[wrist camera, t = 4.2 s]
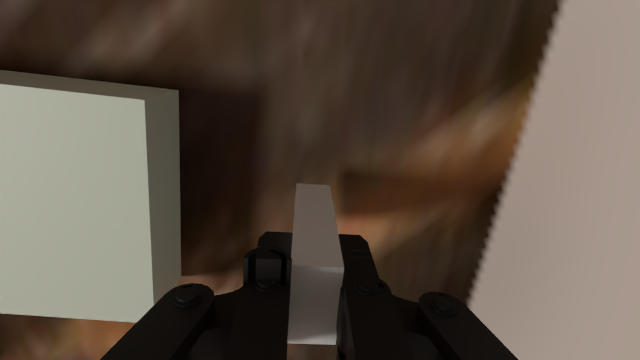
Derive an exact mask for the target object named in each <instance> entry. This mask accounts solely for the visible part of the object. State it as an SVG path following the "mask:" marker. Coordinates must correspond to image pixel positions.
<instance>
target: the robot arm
mask: <svg viewBox="0 0 640 360" xmlns="http://www.w3.org/2000/svg"><path fill="white" fill-rule="evenodd" d="M336 335H337V341H338V348H337V357H336V360H518V359H517V358H516V357H515V356H514V355H513V354H512V353H511V352H510V351H509V350H508V349H507V348H506V347H505V346H504V345H503V343H502V342H501V341H500V340H499V339H498V338H497V337H496V336H495V335H494V334H493V333H492V332H491V331H490V330H489V329H488V328H487V327H486V326H485V325H484V324H483V323H482V322H481V321H480V320H479V319H478V318H477V317H476V316H475V315H474V313H473V312H472V311H471V310H470V309H469V308H468V307H467V306H466V305H465V304H464V303H462V302H461V301H460V300H459V299H457V298H455V297H453V296H451V295H449V294H446V293H441V292H428V293H425V294H423V295H422V296H421V297H420V298H419V303H416V302H413V301H409V300H405V299H402V298H399V297H396V296H394V295H392V293H391V290H390V288H389V287H388V285H387V284H386V283H385V282H384V281H382V280H381V279H379V276H378V273H377V270H376V267H375V264H374V261H373V258H372V255H371V252H370V248H369V245H368V242H367V241H366V240H365V239H363V238H362V237H361V236H360V235H347V234H338V230H337V224H336V219H335V213H334V207H333V202H332V196H331V190H330V185H316V184H298V183H297V184H296V197H295V210H294V223H293V233H287V232H265V233H264V234H263V235H262V236H261V237H260V238H259V241H258V245H257V249H253V250H251V251H250V252H248V253H247V254H246V255H245V257H244V280H243V286H242V287H241V288H240V289H238V290H235V291H233V292H230V293H226V294H221V295H215V296H214V292H213V291H212V290H211V289H210V288H209V287H208V286H205V285H203V284H194V283H191V284H184V285H180V286H178V287H175V288H173V289H171V290H170V291H168V292H167V293H166V294H165V295H164V296H163V297H162V298H161V299H160V300H159V301H158V302H157V303H156V304H155V305H154V306H153V307H152V308H151V309H150V310H149V311H148V312H147V313H146V314H145V315H144V316H143V317H142V318H141V319H140V320H139V321H138V322H137V323H136V324H135V325H134V326H133V327H132V328H131V329H130V330H129V331H128V332H127V333H126V334H125V335H124V336H123V337H122V338H121V339H120V340H119V341H118V342H117V343H116V344H115V345H114V346H113V347H112V348H111V349H110V350H109V351H108V352H107V353H106V354H105V355H104V356H103V357H102V358H101V359H100V360H286V359H287V343H298V344H330V345H335V344H336Z"/></svg>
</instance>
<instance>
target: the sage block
mask: <svg viewBox="0 0 640 360" xmlns="http://www.w3.org/2000/svg"><path fill="white" fill-rule="evenodd" d="M180 278H181V224H180V151H179V90H172V89H164V88H155V87H146V86H137V85H129V84H120V83H111V82H103V81H94V80H85V79H76V78H68V77H59V76H50V75H41V74H33V73H24V72H15V71H6V70H0V313H3V314H18V315H33V316H48V317H62V318H77V319H92V320H107V321H121V322H136V323H137V322H138V321H139V320H140V319H141V318H142V317H143V316H144V315H145V314H146V313H147V312H148V311H149V310H150V309H151V308H152V307H153V306H154V305H155V304H156V303H157V302H158V301H159V300H160V299H161V298H162V297H163V296H164V295H165V294H166V293H167V292H168V291H170V290H171V289H173V288H175V286H176V285H177V283H178V281H179V279H180Z"/></svg>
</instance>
